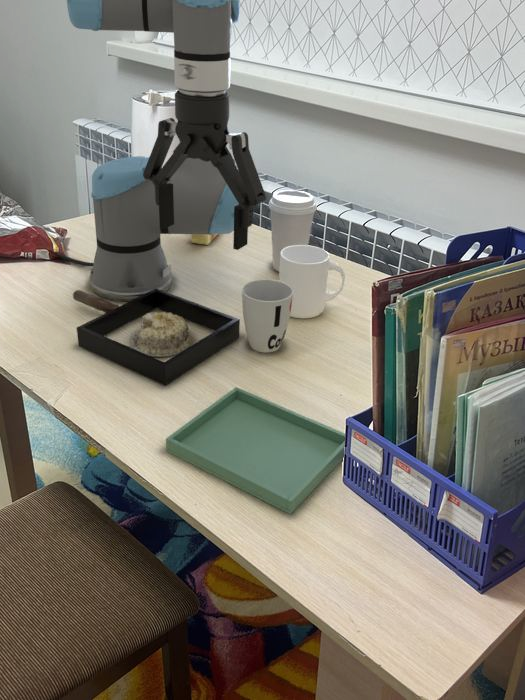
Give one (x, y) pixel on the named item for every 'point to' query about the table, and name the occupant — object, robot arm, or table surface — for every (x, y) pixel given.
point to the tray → (260, 448)
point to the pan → (118, 316)
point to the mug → (308, 278)
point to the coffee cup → (290, 220)
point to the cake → (161, 335)
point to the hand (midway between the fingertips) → (202, 236)
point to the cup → (266, 313)
